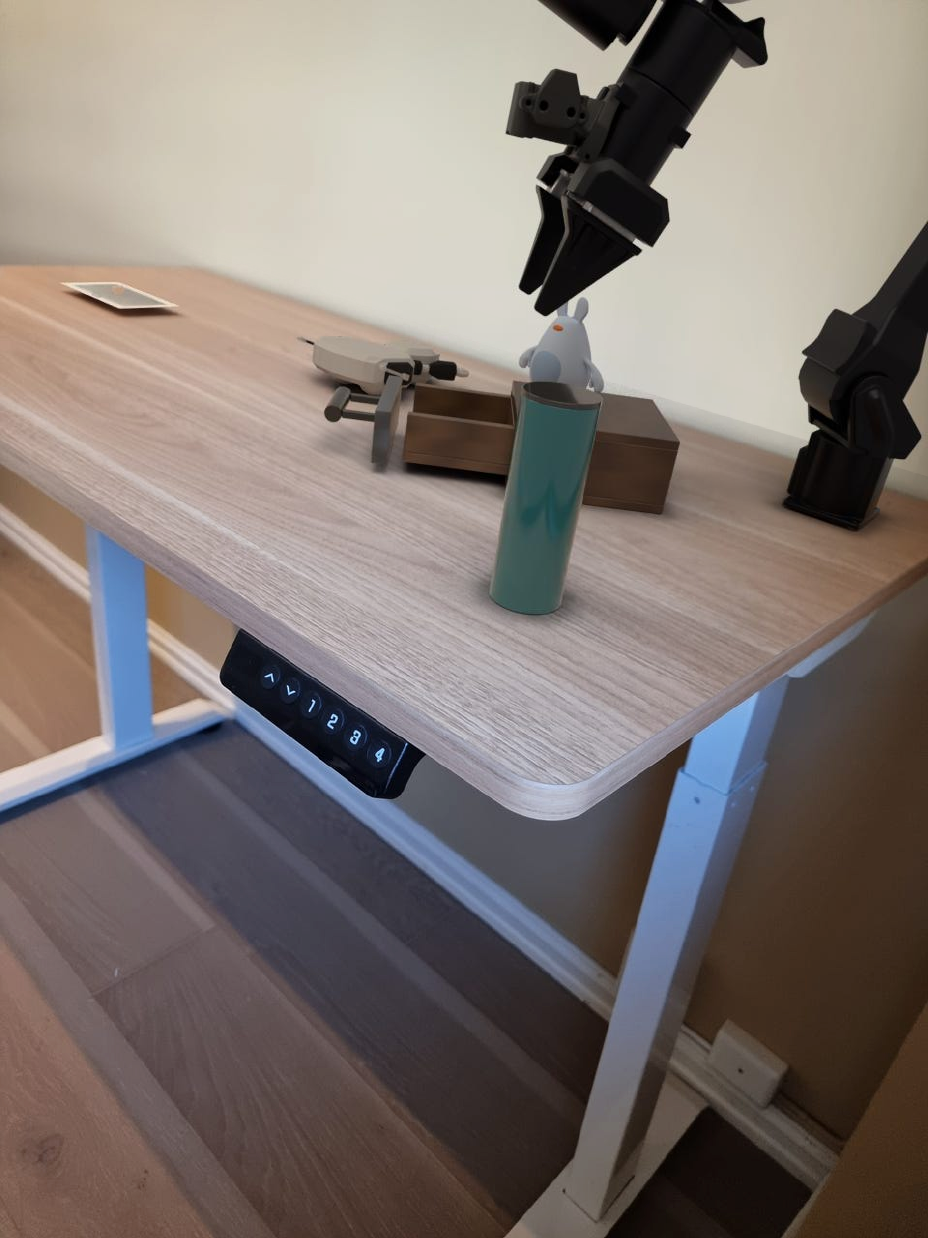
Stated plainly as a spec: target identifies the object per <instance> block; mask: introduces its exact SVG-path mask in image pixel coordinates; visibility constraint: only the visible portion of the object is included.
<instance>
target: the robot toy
mask: <svg viewBox="0 0 928 1238" xmlns="http://www.w3.org/2000/svg"><path fill="white" fill-rule="evenodd" d="M296 339H297V340H298V341H299V342H302V343H306V344H309V345H312V346H313V352H312V363H313V365H314V366H315V367H316V368H317V369H318V370H319V371H321V372H322V373H325V374H326V375H329V377H330V378H331V379H332V380H333V381H335V382H337V383H338V384H343V385H351V384H356V385H358V386H359V387H360V389H361V390H362V391H363V392H365V393H366V394H367V395H370V396H377V397H381V395H382V392H383V390H384V387H385V385H386V382H387V380H388V377H389V375H391V376H398V377H403V380H402V389H407V387H409V385H413V386H415V385H416V383H423V384H427V382H429V381H431V379H433V378H434V379H436V380H438V381H449V382H454V381H455V380H456V377H458V378H468V377H469V375H470V371H469V370H467V369H465V368H464V367H460V366H458V365H457V363H456V362H454V361H450V360H449V361H448V360H441V359H440V357H441V355H440V353H439V352H437V351H436V352H435V351H434V350H433V349H432V347H430V346H428V345H425V344H422V343H419V342H415V341H410V340H389V341H388V340H387V342H385V344H381V343H378V342H374V341H370V340H367V339H362V338H357V337H351V336H328V335H321V336H319V337H318V338H317V339H316V340H314V341H311V340H309V339H307V338H305V337H303V336H297V337H296Z"/></svg>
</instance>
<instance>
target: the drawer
mask: <svg viewBox="0 0 928 1238" xmlns="http://www.w3.org/2000/svg"><path fill="white" fill-rule="evenodd" d="M402 380H403V377H398V376H391V375H389V377H388V380H387V382H386V385H385V387H384V390H383V392H382V395H381V396H373V395H369V394H362V393H355V392H354V393H353V392H351V389H349V388H348V387H347V386H339V387H337V388H336V389H335V391H334V393H333V394H332V396H331V397H330V399H329V401H328V403H327V405H326V406H325V408H324V410H323V415H324V419H326V420H327V421H328V422H329V423H338V422H339V421H340V420H341V419H345V420H346V419H347V420H355V421H362V422H369V423H373V432H372V443H371V456H370V457H371V458H370V463H371V464H375V465H385V466H386V465H387V464H388V459H389V456H390V454H391V449H392V446H393V443H394V439H395V436H396V433H397V429H398V426H399V421H400V410H401V399H402V389H403V388H402ZM413 395H414V396H413V403H412V411H408V412H407V415H406V425H405V432H404V442H403V443H404V444H403V454H402V462H405V463H412V464H419V465H426V466H434V467H442V468H449V469H457V470H465V471H472V472H473V471H474V472H479V473H480V472H481V473H488V474H496V475H502V476H503V475H504V476H505V475H508V473H509V467H510V460H511V454H512V448H513V442H514V436H515V429H516V420H515V411H514V403H513V396H512V395H511V394H503V393H497V392H489V391H484V390H483V391H481V390H474V389H466V388H459V387H453V386H444V385H437V384H430V383H425V384H423V383H416V385H414V394H413ZM350 402H351V403H358V404H359V403H360V404H367V405H373V406H376V408H375V411H374V412H369V411H361V410H354V409H348V405H349V403H350Z"/></svg>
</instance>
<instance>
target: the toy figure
mask: <svg viewBox="0 0 928 1238" xmlns="http://www.w3.org/2000/svg"><path fill="white" fill-rule="evenodd" d="M589 305H590V304H589V301H588V299H587V298H586V297H584V296H581V297H579V298H578V300H577V302H576V306H575V310H574V313H573V315H572V316H570V315H569V314H568V310H569V301H568V302H567V303H565V304H564V305H562V306H561V307H560V308H558V309H557V310H556V314H557V317H556V318H554V320H553V321H552V322H551V323H550V324H549V326H548V327H547V329H546V330H545V332H544V333H543V335H542V336H541V338H540V340H539V342H538V344H536V345H534V346H531V347H529V348H527V349H526V350H524V351H523V352H522V354H521V355H520V356H519V360H518V365H519V367H520V368H521V369H526V368H529V370H528V375H529V380H530V382H539V381H544V382H557V383H564V384H570V385H574V386H579V387H582V388H585V389H587V388H590V389H592V388H593V391H594V392H601V393H603V391H604V388H605V381H604V378H603V375H602V373H601V371H600V370H599V368H598V367H597V366H596V365H595V364H594V362H593V361H592V351H591V345H590V341H589V336H588V333H587V329H586V326H585V324H584V322H583V321H584V319H585V318H586V317H587V315H588V314H589Z"/></svg>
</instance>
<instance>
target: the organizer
mask: <svg viewBox="0 0 928 1238" xmlns="http://www.w3.org/2000/svg"><path fill="white" fill-rule="evenodd" d="M526 383H529V382H528V381H521V380H520V381H519V380H512V383H511V391H510V395H512V396H513V403H514V411H515V420H516V423H517V417H518V411H519V405H520V398H521V392H522V386H523V385H524V384H526ZM592 391H593V392H594V390H592ZM595 393H597V394H599V395H600V396H601V397H602V398H603V403H602V408H601V412H600V417H599V422H598V427H597V432H596V437H595V442H594V446H593V451H592V456H591V461H590V466H589V471H588V475H587V480H586V485H585V490H584V495H583V500H582V505H591V506H597V507H603V508H604V507H605V508H611V509H612V508H613V509H621V510H629V511H635V512H643V513H651V514H660V515H662V514H663V512H664V508H665V503H666V499H667V496H668V492H669V488H670V483H671V481H672V480H671V479H672V476H673V472H674V468H675V465H676V461H677V456H678V453H679V447H680V444H681V440H680V439H679V438H678V436H677V435H676V433H675V432H674V430H673V428H672V427H671V426H670V424H669V422H668V421H667V419H666V418H665V417H664V415H663V413H662V412H661V410H660V408H659V407H658V406H657V404H656V402H655V401H654V399H652V398H646V397H645V398H643V397H637V396H631V395H624V394H623V395H622V394H615V393H608V392H595ZM507 479H508V475H504V483H505V484H504V485H505V486H506V485H507Z"/></svg>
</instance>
